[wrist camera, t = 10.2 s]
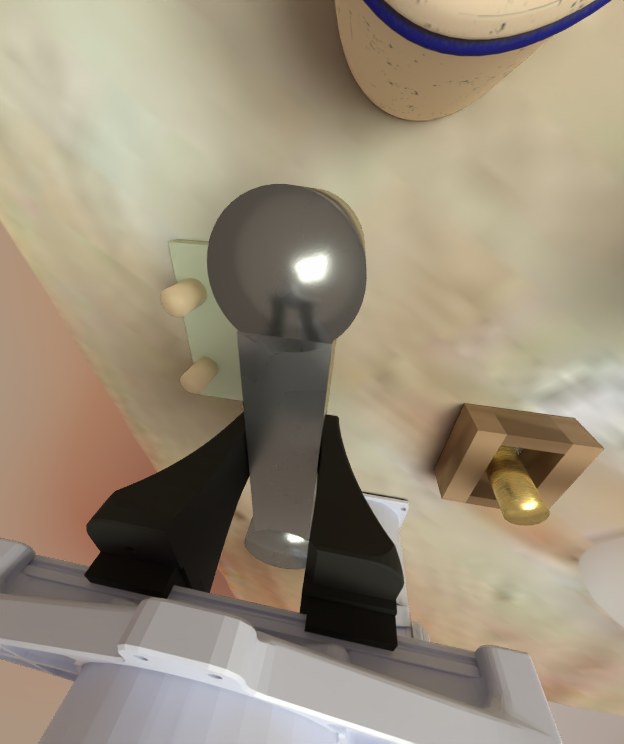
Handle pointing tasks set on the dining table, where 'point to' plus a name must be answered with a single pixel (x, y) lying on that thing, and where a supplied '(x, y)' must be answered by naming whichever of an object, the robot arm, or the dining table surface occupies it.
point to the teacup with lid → (444, 47)
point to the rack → (202, 325)
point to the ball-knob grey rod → (286, 343)
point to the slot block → (517, 429)
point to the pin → (515, 489)
